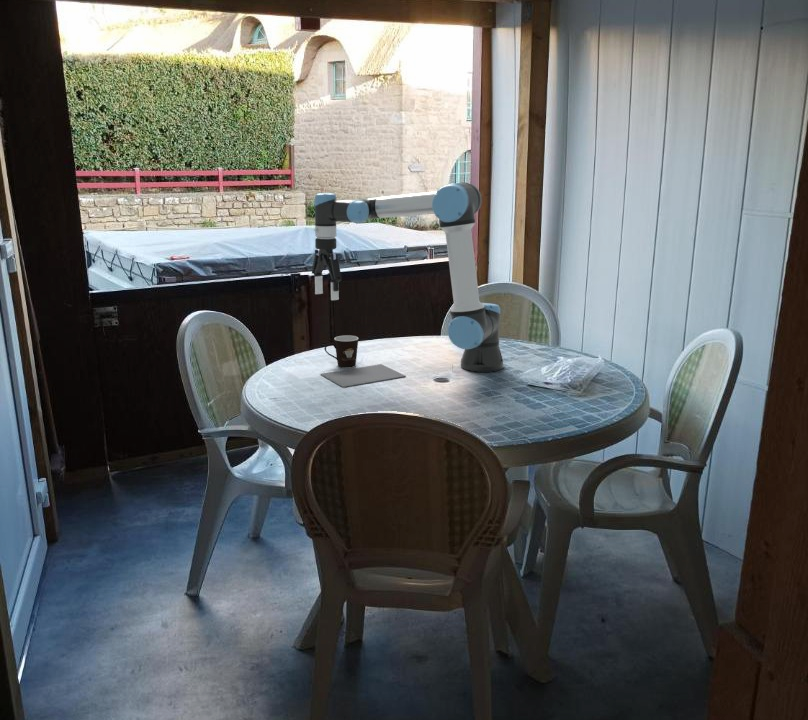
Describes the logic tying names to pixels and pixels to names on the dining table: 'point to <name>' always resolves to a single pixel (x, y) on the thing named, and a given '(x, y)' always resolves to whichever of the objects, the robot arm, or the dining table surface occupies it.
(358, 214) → the robot arm
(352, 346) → the coffee mug
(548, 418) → the dining table surface
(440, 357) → the dining table surface
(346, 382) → the mat
